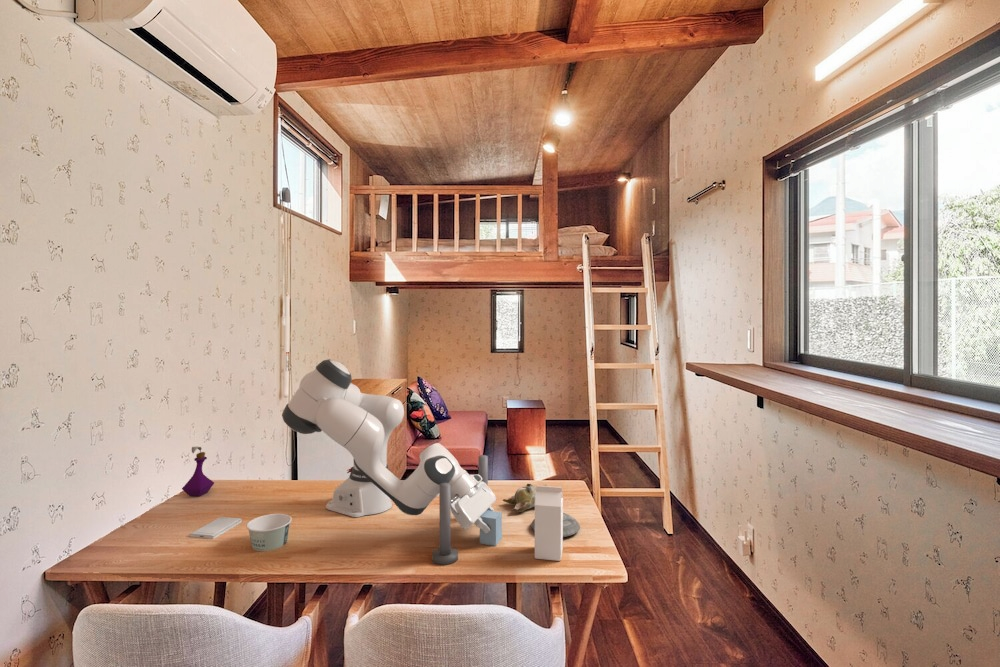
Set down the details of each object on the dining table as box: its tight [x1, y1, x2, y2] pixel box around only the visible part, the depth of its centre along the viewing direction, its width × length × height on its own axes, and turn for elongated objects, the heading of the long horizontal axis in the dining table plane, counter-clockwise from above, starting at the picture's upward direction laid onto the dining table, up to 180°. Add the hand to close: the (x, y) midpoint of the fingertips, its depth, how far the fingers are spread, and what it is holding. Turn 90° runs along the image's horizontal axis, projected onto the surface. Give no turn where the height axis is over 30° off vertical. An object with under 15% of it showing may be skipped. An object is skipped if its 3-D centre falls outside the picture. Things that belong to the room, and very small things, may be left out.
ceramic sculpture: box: [502, 483, 548, 513], centre depth 172 cm, size 11×9×15 cm
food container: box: [245, 513, 293, 552], centre depth 146 cm, size 12×12×6 cm
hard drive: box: [189, 516, 243, 540], centre depth 156 cm, size 2×8×12 cm
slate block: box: [479, 510, 503, 547], centre depth 147 cm, size 5×5×8 cm
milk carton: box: [534, 485, 564, 562], centre depth 139 cm, size 7×7×19 cm
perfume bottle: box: [181, 446, 215, 497], centre depth 185 cm, size 8×8×18 cm
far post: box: [478, 454, 489, 485], centre depth 163 cm, size 7×7×20 cm
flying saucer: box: [530, 512, 581, 538], centre depth 155 cm, size 15×15×6 cm
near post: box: [431, 483, 459, 566], centre depth 137 cm, size 7×7×20 cm
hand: (492, 526), depth 147 cm, fingers closed on slate block, 5 cm apart
